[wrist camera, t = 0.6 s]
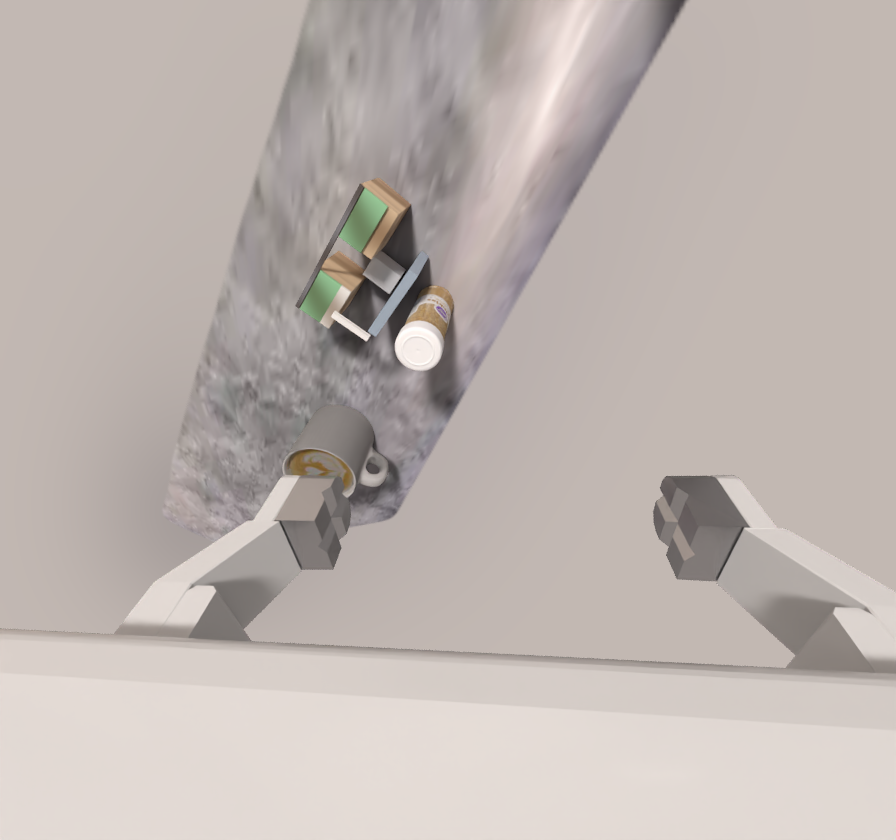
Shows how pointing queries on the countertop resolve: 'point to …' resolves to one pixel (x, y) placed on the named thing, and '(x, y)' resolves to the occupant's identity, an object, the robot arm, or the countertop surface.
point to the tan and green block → (365, 231)
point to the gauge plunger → (385, 289)
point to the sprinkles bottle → (425, 330)
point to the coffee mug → (337, 449)
